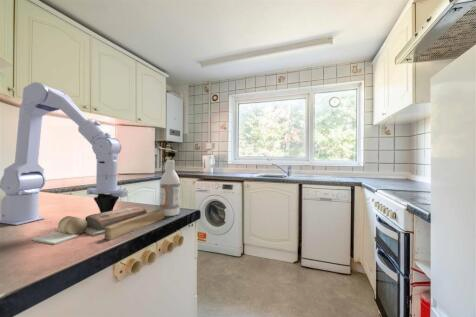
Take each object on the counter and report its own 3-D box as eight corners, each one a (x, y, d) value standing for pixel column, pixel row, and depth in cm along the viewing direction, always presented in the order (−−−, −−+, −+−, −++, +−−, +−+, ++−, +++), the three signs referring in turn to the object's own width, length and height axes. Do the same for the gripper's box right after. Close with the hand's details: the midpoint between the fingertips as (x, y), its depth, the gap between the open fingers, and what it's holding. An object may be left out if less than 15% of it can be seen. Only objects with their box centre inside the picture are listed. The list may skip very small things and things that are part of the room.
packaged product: (133, 204, 80) (152, 207, 75) (133, 217, 80) (152, 222, 75) (76, 214, 65) (94, 220, 60) (76, 231, 65) (94, 238, 60)
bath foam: (156, 214, 84) (157, 160, 84) (173, 211, 89) (174, 160, 89) (165, 217, 79) (166, 160, 79) (182, 214, 84) (183, 160, 84)
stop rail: (104, 238, 58) (104, 227, 58) (159, 217, 79) (159, 209, 79) (110, 239, 57) (110, 228, 57) (164, 218, 78) (164, 209, 78)
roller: (56, 220, 60) (73, 213, 64) (59, 235, 61) (76, 228, 65) (68, 222, 58) (85, 215, 62) (71, 238, 59) (88, 230, 63)
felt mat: (32, 240, 56) (32, 238, 56) (56, 233, 61) (56, 231, 61) (54, 244, 54) (54, 242, 54) (78, 236, 59) (78, 235, 59)
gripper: (77, 175, 70) (77, 219, 70) (114, 177, 66) (113, 224, 66) (98, 174, 77) (97, 214, 77) (132, 175, 72) (132, 218, 72)
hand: (106, 218), depth 72 cm, fingers closed
